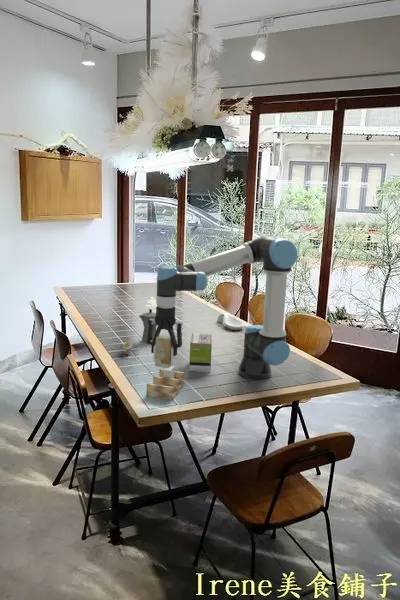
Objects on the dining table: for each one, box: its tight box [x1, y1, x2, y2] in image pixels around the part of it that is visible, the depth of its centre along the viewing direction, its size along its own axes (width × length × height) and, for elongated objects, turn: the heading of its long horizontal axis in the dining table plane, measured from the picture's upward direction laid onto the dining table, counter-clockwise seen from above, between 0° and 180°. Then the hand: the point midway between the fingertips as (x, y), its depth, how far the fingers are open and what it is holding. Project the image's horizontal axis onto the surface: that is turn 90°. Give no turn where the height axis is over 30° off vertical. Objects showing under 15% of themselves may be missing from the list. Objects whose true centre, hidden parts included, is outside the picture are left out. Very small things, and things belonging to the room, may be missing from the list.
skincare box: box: [154, 334, 174, 369], centre depth 187 cm, size 6×4×12 cm
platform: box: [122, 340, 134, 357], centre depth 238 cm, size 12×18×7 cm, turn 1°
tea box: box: [188, 333, 213, 374], centre depth 223 cm, size 15×10×15 cm, turn 178°
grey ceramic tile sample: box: [163, 365, 176, 379], centre depth 198 cm, size 3×6×8 cm, turn 167°
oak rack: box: [146, 369, 186, 401], centre depth 194 cm, size 11×17×6 cm, turn 167°
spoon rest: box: [216, 312, 245, 331], centre depth 297 cm, size 24×12×7 cm, turn 29°
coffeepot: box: [138, 309, 158, 344], centre depth 259 cm, size 15×9×18 cm, turn 118°
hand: (163, 361), depth 188 cm, fingers closed on skincare box, 6 cm apart
